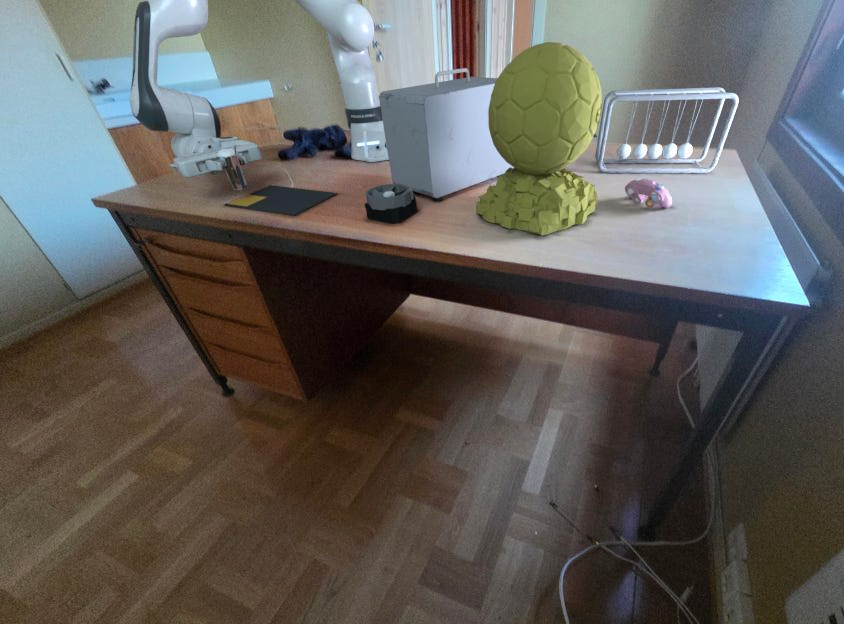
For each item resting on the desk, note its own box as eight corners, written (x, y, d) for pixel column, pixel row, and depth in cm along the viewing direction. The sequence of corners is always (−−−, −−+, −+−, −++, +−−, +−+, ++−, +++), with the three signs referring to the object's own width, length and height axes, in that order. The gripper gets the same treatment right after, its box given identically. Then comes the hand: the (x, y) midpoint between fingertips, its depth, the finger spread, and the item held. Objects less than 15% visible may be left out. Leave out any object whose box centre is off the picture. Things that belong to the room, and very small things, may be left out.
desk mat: (337, 194, 104) (336, 192, 103) (295, 216, 93) (294, 214, 93) (270, 186, 112) (269, 184, 111) (224, 205, 101) (224, 203, 101)
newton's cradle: (596, 173, 107) (609, 96, 96) (593, 162, 115) (605, 90, 103) (714, 173, 103) (742, 92, 91) (702, 162, 110) (728, 86, 99)
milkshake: (245, 191, 98) (229, 147, 91) (227, 190, 99) (209, 147, 92) (256, 186, 101) (241, 143, 95) (238, 185, 102) (222, 142, 96)
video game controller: (623, 207, 92) (620, 182, 86) (635, 194, 92) (634, 168, 87) (661, 219, 86) (660, 193, 80) (674, 205, 86) (675, 178, 81)
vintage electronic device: (472, 163, 120) (469, 62, 104) (517, 173, 110) (521, 63, 94) (389, 190, 104) (370, 76, 88) (433, 205, 94) (421, 79, 78)
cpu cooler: (355, 194, 86) (384, 180, 92) (361, 219, 89) (388, 205, 96) (393, 200, 82) (420, 185, 88) (397, 226, 85) (423, 210, 92)
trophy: (607, 211, 86) (642, 36, 66) (546, 244, 75) (566, 46, 55) (528, 191, 99) (538, 38, 79) (466, 216, 88) (459, 47, 68)
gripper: (160, 151, 95) (182, 159, 88) (240, 135, 106) (266, 140, 99) (174, 178, 99) (196, 188, 92) (250, 160, 110) (275, 167, 103)
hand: (233, 163), depth 96 cm, fingers closed on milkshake, 4 cm apart
